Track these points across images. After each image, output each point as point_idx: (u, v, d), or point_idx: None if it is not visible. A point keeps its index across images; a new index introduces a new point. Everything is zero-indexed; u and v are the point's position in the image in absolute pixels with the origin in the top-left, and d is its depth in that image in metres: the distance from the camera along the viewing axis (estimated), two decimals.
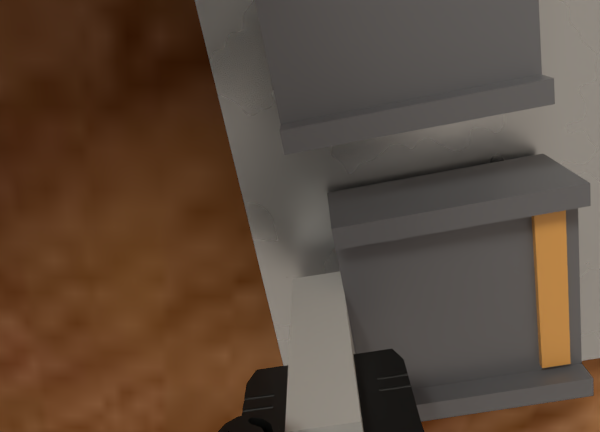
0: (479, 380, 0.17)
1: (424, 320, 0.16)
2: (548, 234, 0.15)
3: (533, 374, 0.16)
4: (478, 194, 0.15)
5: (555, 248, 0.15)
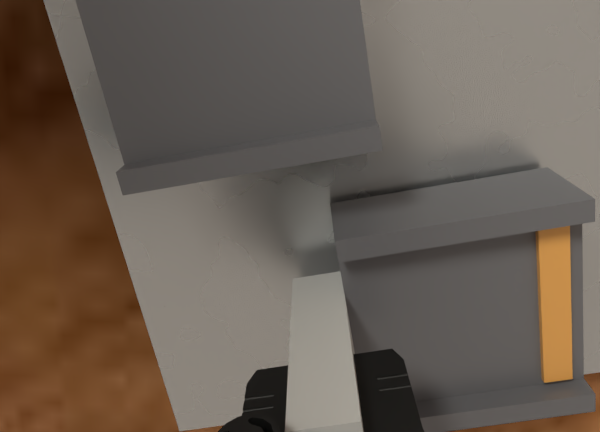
0: (480, 393, 0.17)
1: (427, 333, 0.16)
2: (552, 249, 0.15)
3: (535, 389, 0.16)
4: (483, 208, 0.15)
5: (559, 263, 0.15)
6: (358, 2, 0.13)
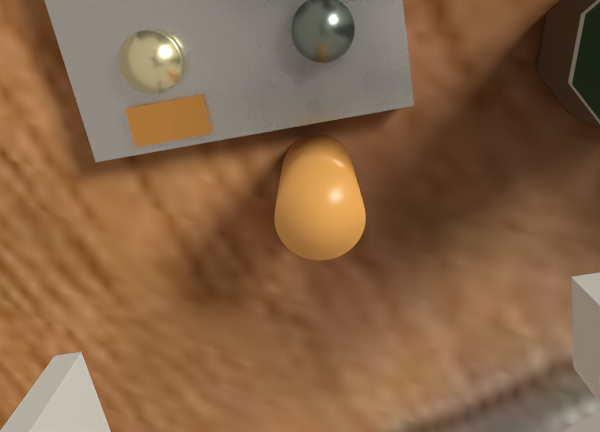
0: None
1: None
2: None
3: None
4: None
5: None
6: None
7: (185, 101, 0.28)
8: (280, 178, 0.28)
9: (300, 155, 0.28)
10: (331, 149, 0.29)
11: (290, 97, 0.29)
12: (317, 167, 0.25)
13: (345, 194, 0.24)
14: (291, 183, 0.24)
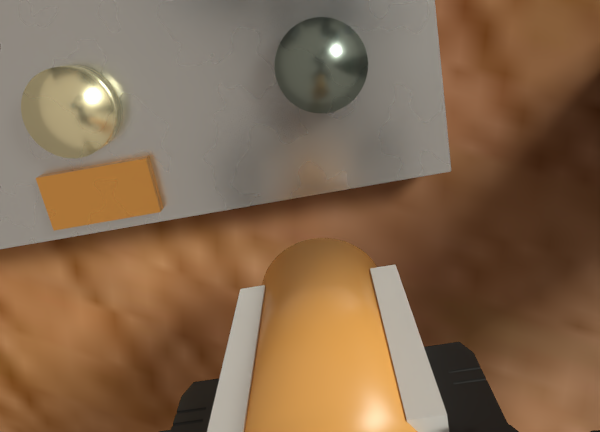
0: None
1: None
2: None
3: None
4: None
5: None
6: None
7: (123, 167, 0.20)
8: None
9: (292, 304, 0.14)
10: (352, 285, 0.15)
11: (275, 160, 0.20)
12: (328, 366, 0.11)
13: None
14: (270, 419, 0.11)
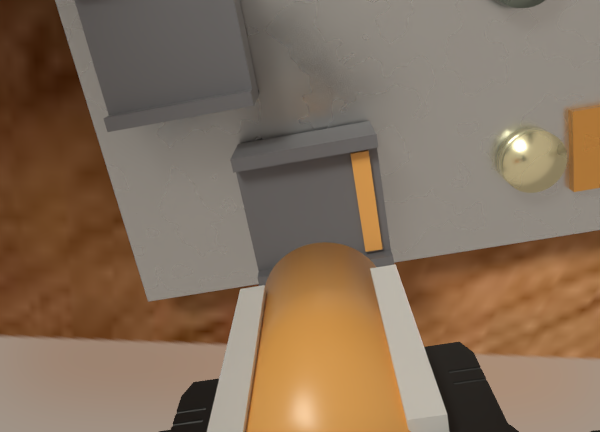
0: None
1: (292, 220, 0.26)
2: (360, 166, 0.25)
3: None
4: (318, 141, 0.25)
5: (365, 174, 0.25)
6: (237, 22, 0.23)
7: (576, 129, 0.27)
8: None
9: (294, 308, 0.14)
10: (354, 290, 0.15)
11: (589, 9, 0.25)
12: (329, 371, 0.11)
13: None
14: (270, 423, 0.11)
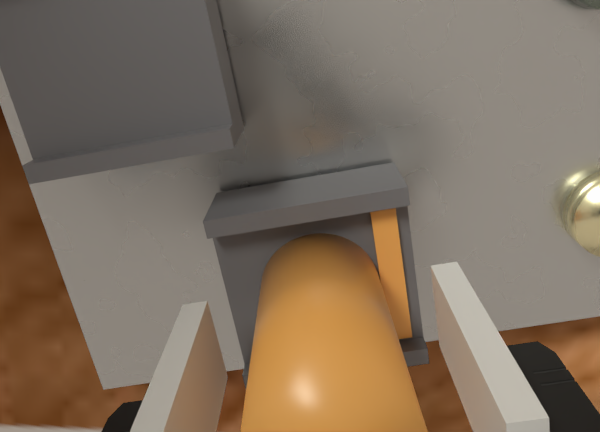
0: None
1: None
2: (383, 228, 0.18)
3: None
4: (325, 195, 0.18)
5: (390, 240, 0.18)
6: (210, 30, 0.16)
7: None
8: (254, 332, 0.15)
9: (292, 293, 0.15)
10: (349, 276, 0.16)
11: None
12: (327, 346, 0.12)
13: (391, 418, 0.11)
14: (273, 394, 0.11)
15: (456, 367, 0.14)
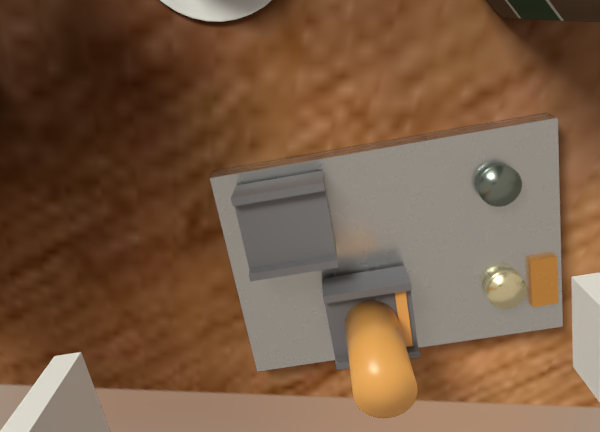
0: None
1: None
2: (400, 298, 0.41)
3: None
4: (375, 284, 0.41)
5: (403, 303, 0.42)
6: (329, 220, 0.40)
7: (532, 271, 0.43)
8: (349, 345, 0.39)
9: (365, 330, 0.38)
10: (386, 323, 0.39)
11: (538, 203, 0.42)
12: (382, 352, 0.35)
13: (404, 376, 0.35)
14: (366, 368, 0.35)
15: None
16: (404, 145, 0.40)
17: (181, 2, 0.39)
